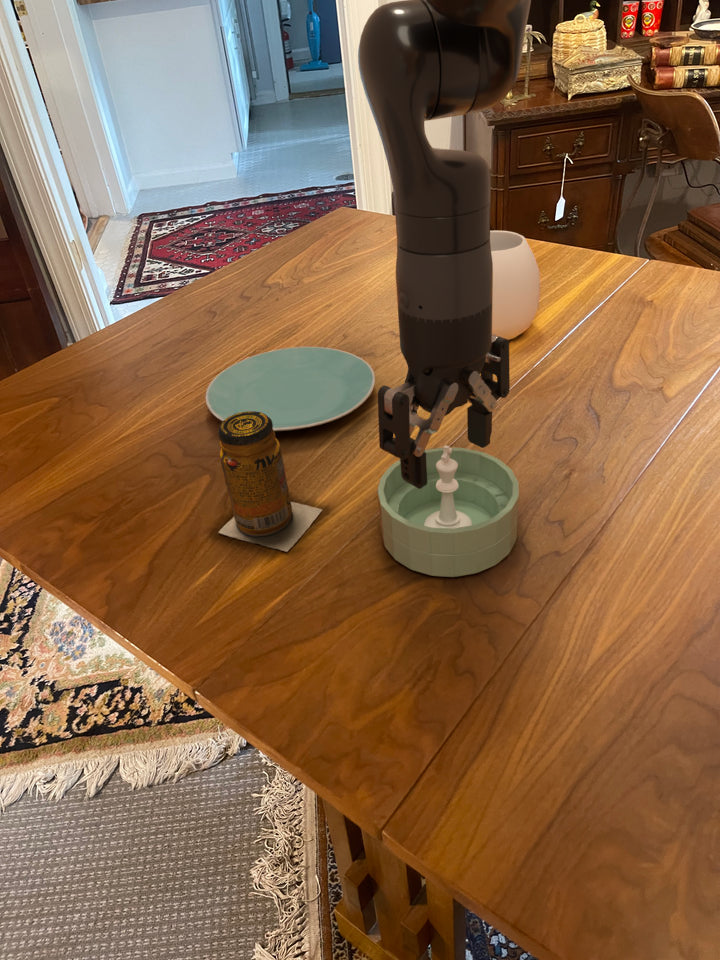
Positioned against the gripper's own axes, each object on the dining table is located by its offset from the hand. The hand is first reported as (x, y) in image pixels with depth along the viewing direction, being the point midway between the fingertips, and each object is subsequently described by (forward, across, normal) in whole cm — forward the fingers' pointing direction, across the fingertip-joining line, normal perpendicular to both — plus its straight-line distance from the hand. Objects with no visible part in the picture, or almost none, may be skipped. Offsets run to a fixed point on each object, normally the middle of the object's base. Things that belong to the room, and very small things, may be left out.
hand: (448, 463), depth 68 cm
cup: (+9, +38, +26) cm, 47 cm away
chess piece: (+8, 0, 0) cm, 8 cm away
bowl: (+9, 0, 0) cm, 9 cm away
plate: (+9, +6, +33) cm, 35 cm away
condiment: (+9, -11, +15) cm, 21 cm away
